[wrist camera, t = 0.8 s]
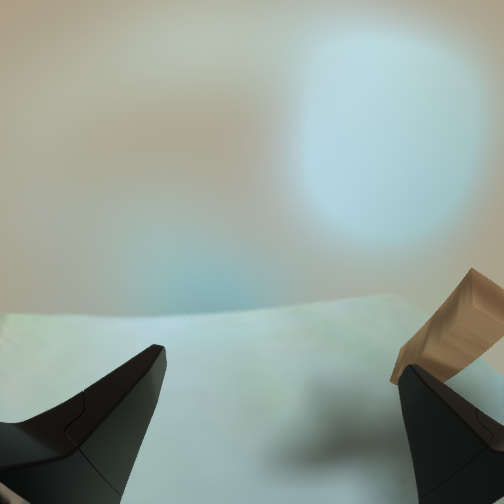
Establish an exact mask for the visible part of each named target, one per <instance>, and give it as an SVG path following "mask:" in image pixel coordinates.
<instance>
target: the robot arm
mask: <svg viewBox="0 0 504 504" xmlns="http://www.w3.org/2000/svg"><path fill="white" fill-rule="evenodd" d="M166 367H167V360H166V350H165V347H164V346H161V345H156V344H153V345H151V346H150V347H148V348H147V349H145V350H144V351H142V352H141V353H139V354H138V355H136V356H135V357H133V358H132V359H130V360H129V361H127V362H126V363H124V364H123V365H121V366H120V367H118V368H117V369H115V370H114V371H112V372H111V373H109V374H108V375H106V376H105V377H103V378H101V379H100V380H98V381H97V382H95V383H94V384H92V385H91V386H89V387H88V388H86V389H85V390H84V392H83V391H81V392H80V393H78V394H77V395H75V396H74V397H72V398H70V399H69V400H67V401H65V402H63V403H61V404H60V405H58V406H56V407H54V408H52V409H50V410H48V411H45V412H43V413H41V414H39V415H37V416H35V417H32V418H30V419H28V420H26V421H23V422H19V423H5V422H0V504H120V501H121V498H122V495H123V493H124V490H125V487H126V484H127V481H128V479H129V476H130V473H131V470H132V468H133V465H134V462H135V460H136V457H137V454H138V452H139V449H140V446H141V444H142V441H143V439H144V436H145V433H146V431H147V428H148V426H149V423H150V421H151V418H152V416H153V413H154V410H155V408H156V405H157V402H158V398H159V394H160V390H161V387H162V383H163V379H164V375H165V371H166ZM398 389H399V395H400V401H401V408H402V415H403V419H404V424H405V428H406V432H407V437H408V441H409V446H410V451H411V456H412V461H413V466H414V472H415V478H416V484H417V491H418V498H419V504H504V426H503V425H501V424H500V423H498V422H496V421H495V420H493V419H492V418H490V417H489V416H487V415H486V414H484V413H483V412H482V411H480V410H479V409H478V408H476V407H475V406H473V405H472V404H471V403H469V402H468V401H467V400H465V399H464V398H463V397H461V396H460V395H459V394H457V393H456V392H454V391H453V390H452V389H450V388H449V387H448V386H446V385H445V384H444V383H442V382H441V381H439V380H438V379H437V378H435V377H434V376H433V375H431V374H430V373H429V372H427V371H426V370H424V369H423V368H422V367H420V366H419V365H418V364H408V365H406V367H405V368H404V370H403V372H402V374H401V375H400V377H399V379H398Z"/></svg>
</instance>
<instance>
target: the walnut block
mask: <svg viewBox="0 0 504 504" xmlns="http://www.w3.org/2000/svg"><path fill="white" fill-rule="evenodd" d="M503 336H504V289H502V288H501V287H500V286H498V285H497V284H495V283H494V282H492V281H491V280H490V279H488V278H487V277H485V276H484V275H482V274H481V273H479V272H477V271H476V270H474V269H473V268H471V269H470V270H469V272H468V273H467V275H466V276H465V277H464V279H463V280H462V281H461V282H460V284H459V285H458V286H457V288H456V289H455V290H454V291H453V292H452V294H451V295H450V296H449V298H448V299H447V300H446V301H445V302H444V303H443V304H442V306H441V307H440V308H439V309H438V310H437V311H436V312H435V314H434V315H433V316H432V317H431V318H430V319H429V320H428V321H427V322H426V323H425V325H424V326H423V327H422V328H421V329H420V330H419V331H418V332H417V333H416V334H415V335H414V336H413V337H412V338H411V339H410V340H409V341H408V342H407V343H406V344H405V345H404V346H403V347H402V348H401V349H400V352H399V355H398V358H397V361H396V364H395V367H394V370H393V373H392V376H391V379H390V382H392V383H394V384H396V385H398V379H399V377H400V375H401V374H402V372H403V370H404V368H405V367H406V365H408V364H418V365H419V366H420V367H422V368H423V369H424V370H426V371H427V372H429V373H430V374H431V375H433V376H434V377H435V378H437V379H438V380H439V381H441V382H442V383H444V382H445V381H447V380H448V379H450V378H451V377H453V376H454V375H456V374H457V373H458V372H460V371H461V370H463V369H464V368H465V367H467V366H468V365H469V364H471V363H472V362H473V361H474V360H476V359H477V358H478V357H479V356H481V355H482V354H483V353H484V352H486V351H487V350H488V349H489V348H490V347H492V346H493V345H494V344H495V343H496V342H497V341H498V340H499V339H500V338H502V337H503Z"/></svg>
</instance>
